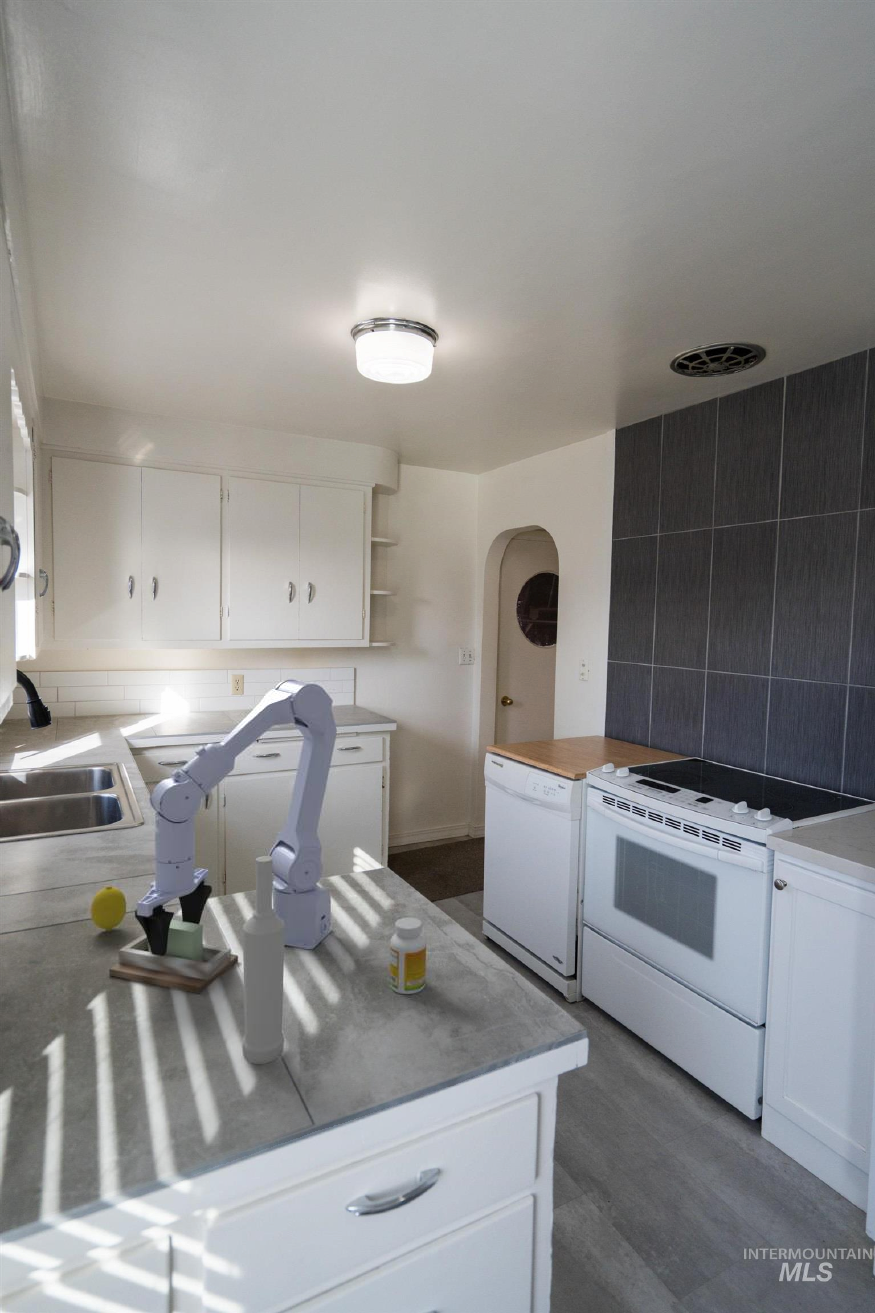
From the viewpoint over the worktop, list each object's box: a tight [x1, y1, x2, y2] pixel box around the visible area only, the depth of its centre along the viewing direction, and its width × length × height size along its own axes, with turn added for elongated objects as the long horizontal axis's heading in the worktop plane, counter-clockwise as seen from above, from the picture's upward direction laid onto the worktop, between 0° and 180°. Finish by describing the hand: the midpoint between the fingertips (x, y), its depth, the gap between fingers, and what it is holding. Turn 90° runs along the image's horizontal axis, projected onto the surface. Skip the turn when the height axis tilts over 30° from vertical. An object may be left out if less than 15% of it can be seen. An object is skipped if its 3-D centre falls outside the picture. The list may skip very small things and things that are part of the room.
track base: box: [108, 933, 239, 994], centre depth 108 cm, size 16×10×3 cm, turn 73°
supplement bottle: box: [389, 917, 427, 995], centre depth 104 cm, size 5×5×10 cm
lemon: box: [90, 885, 127, 932], centre depth 120 cm, size 6×6×8 cm
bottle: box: [242, 855, 285, 1065], centre depth 87 cm, size 5×5×25 cm
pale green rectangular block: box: [149, 919, 204, 962], centre depth 108 cm, size 8×2×6 cm, turn 73°
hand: (175, 943), depth 108 cm, fingers open, 7 cm apart
